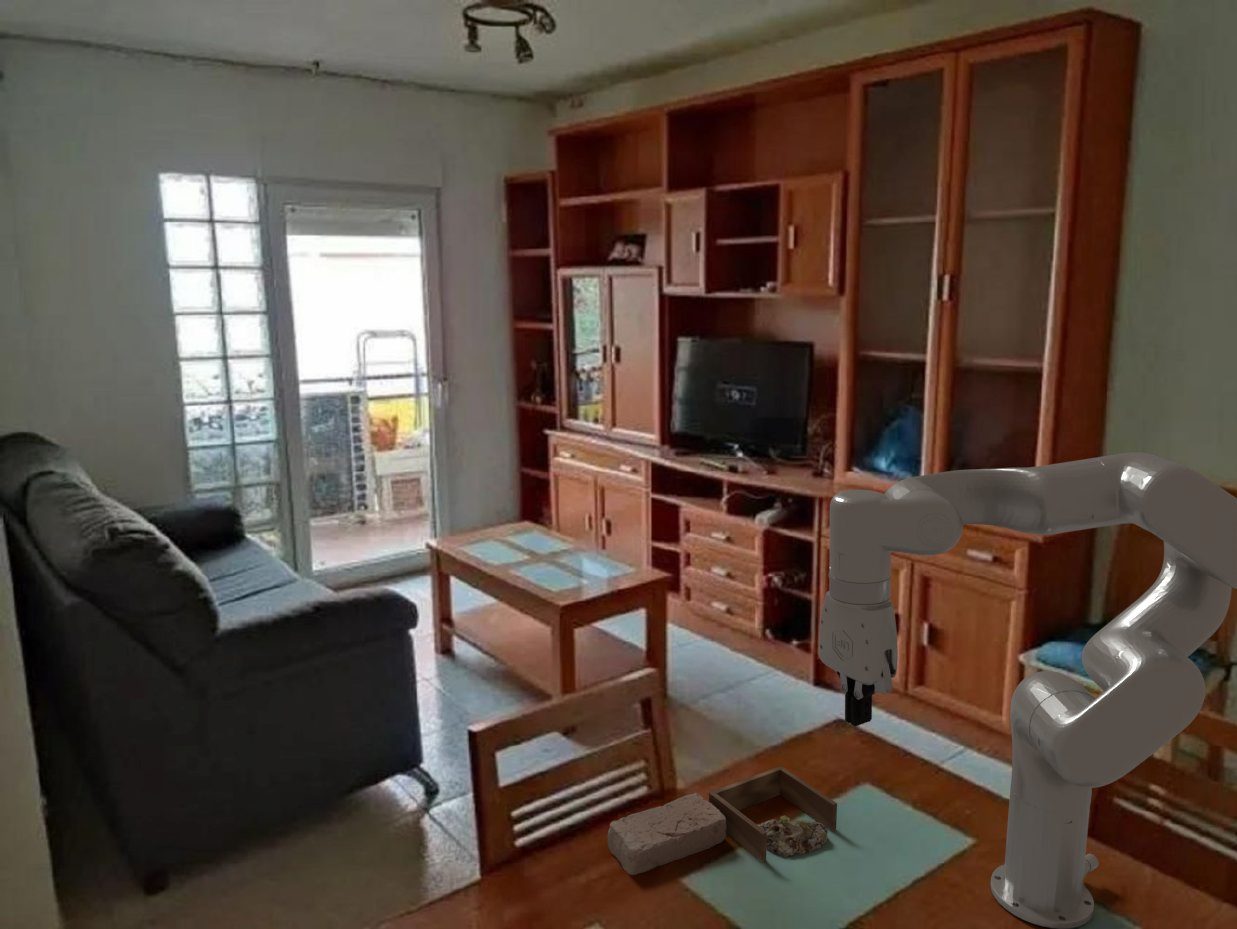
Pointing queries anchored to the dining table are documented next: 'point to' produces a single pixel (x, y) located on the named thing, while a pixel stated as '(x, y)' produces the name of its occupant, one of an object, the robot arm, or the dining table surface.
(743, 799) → the box
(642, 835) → the brick
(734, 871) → the dining table surface
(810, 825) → the mineral rock
